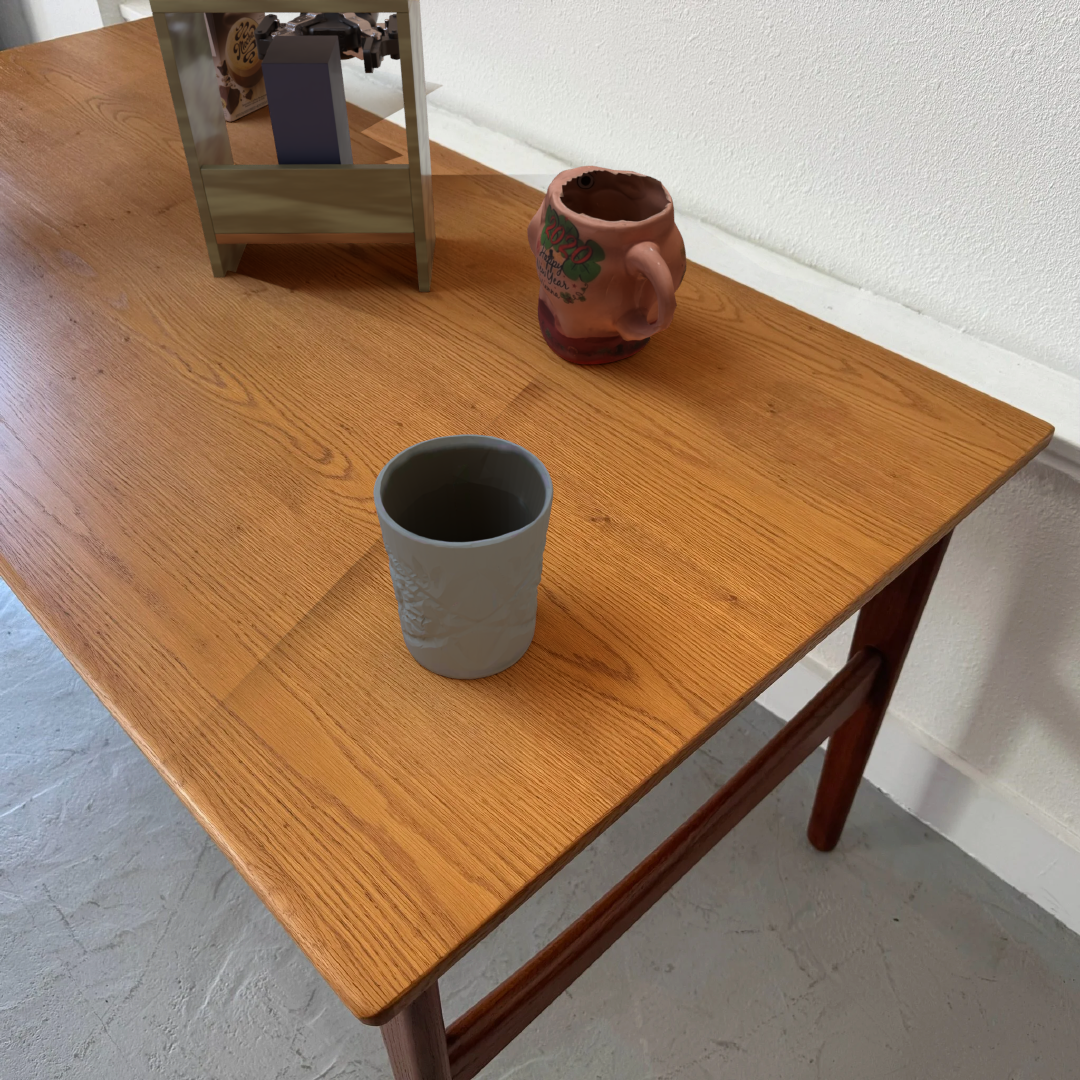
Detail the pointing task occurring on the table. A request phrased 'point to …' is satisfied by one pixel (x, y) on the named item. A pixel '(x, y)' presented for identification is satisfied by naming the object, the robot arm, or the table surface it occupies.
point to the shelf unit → (295, 189)
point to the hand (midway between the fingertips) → (322, 62)
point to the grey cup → (465, 549)
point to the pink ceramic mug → (605, 263)
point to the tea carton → (307, 100)
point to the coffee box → (237, 62)
